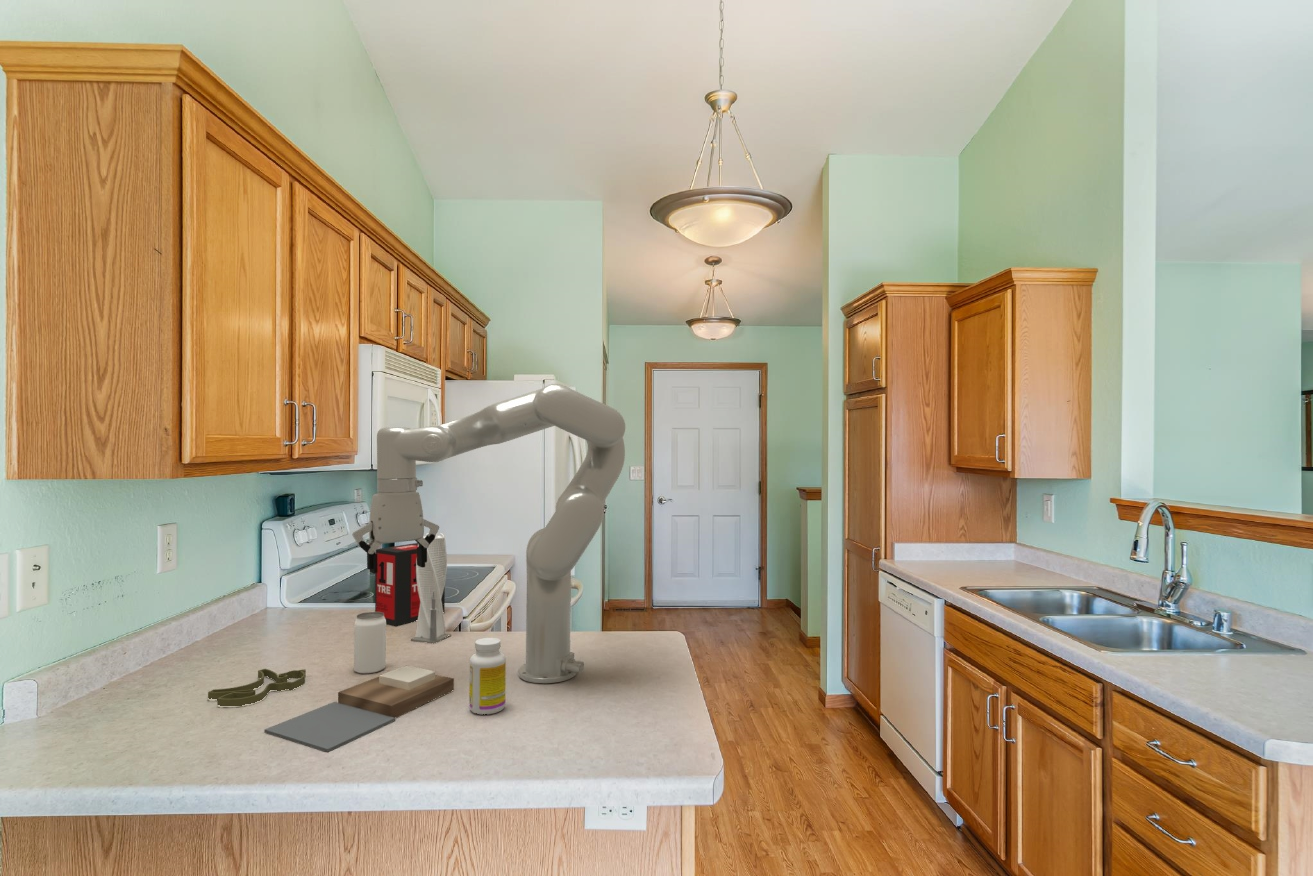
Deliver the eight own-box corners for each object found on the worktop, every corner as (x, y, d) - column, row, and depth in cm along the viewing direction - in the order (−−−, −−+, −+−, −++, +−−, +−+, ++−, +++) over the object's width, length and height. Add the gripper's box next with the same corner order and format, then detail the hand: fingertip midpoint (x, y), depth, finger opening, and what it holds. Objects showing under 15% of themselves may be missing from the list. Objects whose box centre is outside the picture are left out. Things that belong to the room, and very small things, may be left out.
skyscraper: (405, 640, 172) (407, 528, 172) (426, 631, 180) (427, 525, 180) (434, 643, 170) (435, 530, 170) (453, 634, 177) (455, 526, 177)
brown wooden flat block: (453, 690, 139) (453, 678, 139) (391, 719, 124) (391, 705, 124) (403, 679, 145) (403, 667, 145) (338, 705, 130) (338, 692, 130)
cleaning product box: (423, 609, 203) (424, 541, 203) (444, 613, 198) (445, 544, 198) (375, 621, 189) (375, 549, 189) (396, 626, 184) (397, 552, 184)
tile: (435, 678, 138) (435, 671, 138) (408, 690, 132) (408, 682, 132) (406, 672, 142) (406, 665, 142) (379, 683, 135) (379, 675, 135)
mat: (395, 720, 124) (395, 717, 124) (327, 752, 111) (327, 749, 111) (334, 704, 131) (334, 701, 131) (264, 732, 118) (264, 729, 118)
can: (374, 675, 147) (374, 619, 147) (347, 673, 148) (347, 617, 148) (391, 665, 153) (392, 612, 153) (365, 663, 154) (366, 610, 154)
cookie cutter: (270, 674, 148) (270, 665, 148) (318, 680, 145) (318, 670, 145) (196, 706, 130) (196, 695, 130) (249, 713, 127) (249, 702, 127)
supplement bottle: (512, 706, 131) (513, 639, 131) (487, 718, 125) (488, 648, 125) (486, 699, 134) (487, 634, 134) (461, 711, 129) (462, 642, 129)
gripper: (431, 483, 150) (432, 561, 150) (347, 488, 140) (348, 572, 140) (444, 485, 144) (445, 566, 144) (357, 490, 134) (358, 578, 134)
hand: (397, 569), depth 142 cm, fingers open, 9 cm apart
